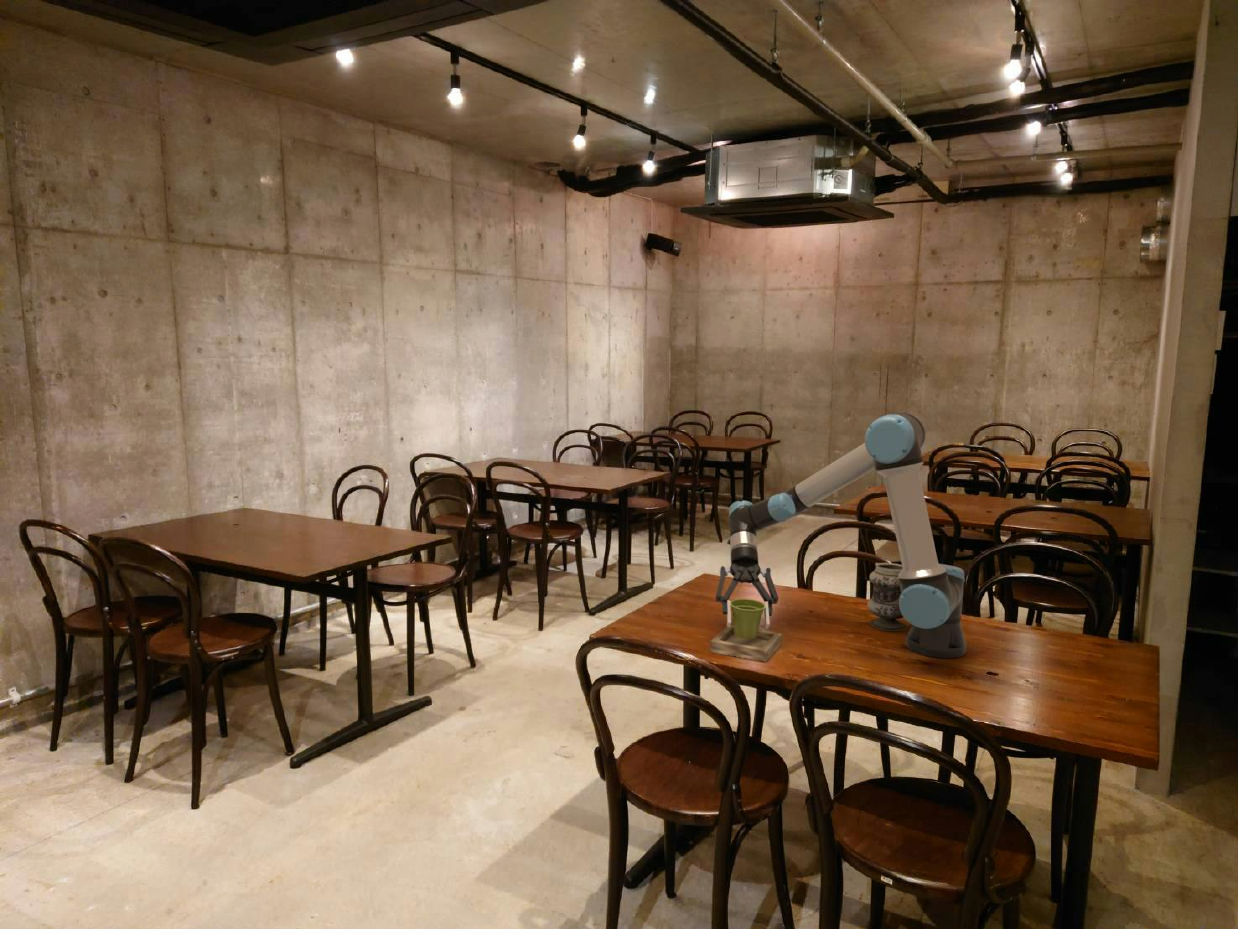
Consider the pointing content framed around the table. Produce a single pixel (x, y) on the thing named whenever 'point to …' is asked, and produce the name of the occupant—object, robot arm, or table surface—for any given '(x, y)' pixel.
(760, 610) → the plant pot
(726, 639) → the wooden tray
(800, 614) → the table surface
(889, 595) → the apothecary jar
